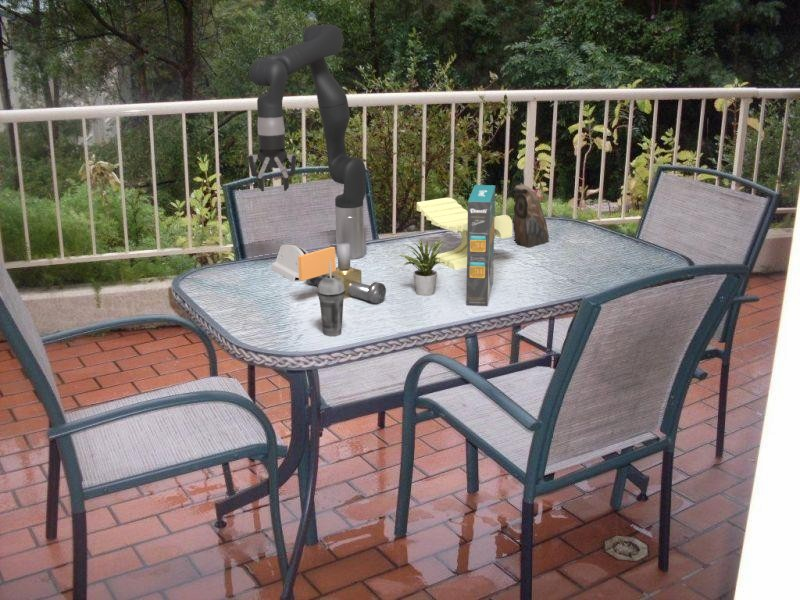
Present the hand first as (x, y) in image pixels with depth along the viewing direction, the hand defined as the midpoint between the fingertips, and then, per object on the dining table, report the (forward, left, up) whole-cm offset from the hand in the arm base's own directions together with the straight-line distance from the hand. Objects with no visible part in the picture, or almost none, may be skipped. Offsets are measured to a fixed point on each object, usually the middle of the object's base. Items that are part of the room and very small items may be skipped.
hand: (274, 190), depth 269 cm
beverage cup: (+16, +40, -30) cm, 52 cm away
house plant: (-26, +36, -30) cm, 54 cm away
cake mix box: (-35, +49, -30) cm, 67 cm away
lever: (-1, +19, -22) cm, 29 cm away
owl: (-91, +28, -30) cm, 100 cm away
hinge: (-12, -8, -30) cm, 33 cm away
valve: (-9, +19, -30) cm, 36 cm away
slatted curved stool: (-58, +24, -30) cm, 70 cm away
